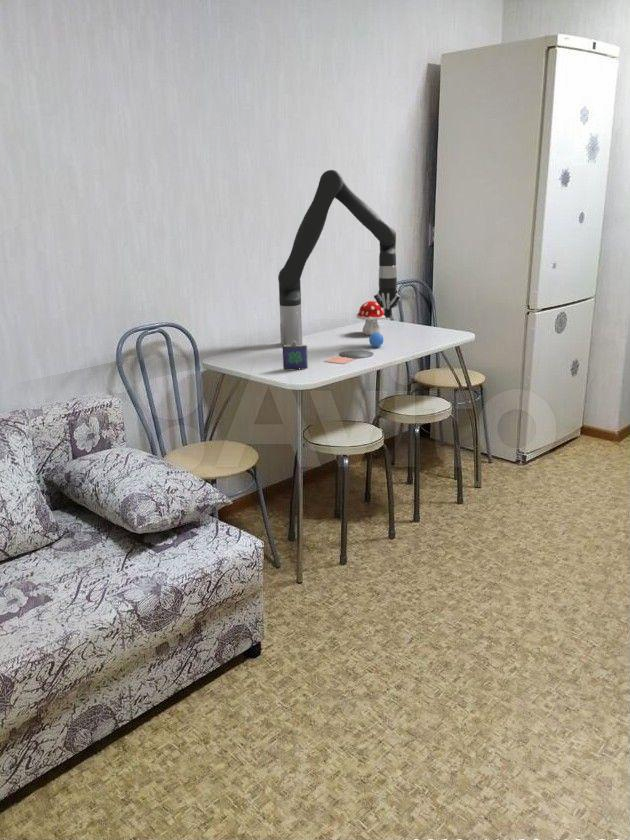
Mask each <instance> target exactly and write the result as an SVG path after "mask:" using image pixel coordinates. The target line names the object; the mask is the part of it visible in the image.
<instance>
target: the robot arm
mask: <svg viewBox="0 0 630 840" xmlns="http://www.w3.org/2000/svg"><path fill="white" fill-rule="evenodd" d="M334 200H337V201H339V202H340V204H342V205H343V206H344V207H345V208H346V209H347V210H348V211H349V212H350V213H351V215H353V216H354V217H355V218H356V220H357V221H358V222H360V223H361V225H362V226H363V227H364V228H366V229H367V231H370V232H371V234H372V235H373V236H374V237H375V238H376V239H377V240H378V242H379V256H378V265H379V267H378V293H376V294H375V295H374V296H373V298H374V300H375V302H377V303H378V304H379V306H380V307H383V310H384V316H385V317H386V319H389V318H391V317H392V315H393V314H392V312H393V308H396V307H397V306H398V304H399V302H400V301H401V300H402V298H403V296H402V295H399V294H398V289H397V286H398V284H397V281H398V280H397V279H398V278H397V277H398V276H397V274H398V273H397V272H398V271H397V255H396V249H397V247H396V245H397V243H396V242H397V233H396V231H395V229H394V228H393V227H390V225H388V224H387V223H386V222H385V221H384V220H382V218H381V217H380V215H379V214H378V213H376V211H375V210H374V209H372V207H370V206H369V205H368V204H367V203H366V202H365V201H363V200H362V199H361V198H360V197H359V196H357V194H355V192H353V191H352V189H350V187H349V186H348V185H347V184H346V182H345V181H344V179H343V177H342V175H341V174H340V173H339V172H338V171H337V170H335V169H329V170H325V171H324V172H323V173H322V174H321V176H320V178H319V181H318V186H317V188H316V190H315V193H314V197H313V199H312V201H311V204H309V207H308V209H307V211H306V212H305V214H304V216H303V218H302V221H301V223H300V225H299V227H298V229H297V232H296V235H295V237H294V240H293V244H292V247H291V251H290V254H289V256H288V258H287V260H286V262H285V263H284V266H283V267H282V268H281V269H280V271H279V273H278V277H277V278H278V293H279V294H278V299H279V300H278V301H279V302H278V303H279V322H280V324H279V329H280V330H279V333H280V346H281V345H287V344H288V345H289V344H293V341H297V342H296V344H297V345H303V325H302V324H303V322H302V318H303V317H302V293H301V292H302V291H301V288H302V287H301V277H302V274H303V271H304V268H305V265H306V262H307V261H308V259H309V258H310V256H311V254H312V253H313V251H314V249H315V247H316V245H317V242H318V241H319V240H320V237H321V235H322V233H323V229H324V227H325V224H326V221H327V217H328V213H329V210H330V207H331V205H332V203H333V201H334Z"/></svg>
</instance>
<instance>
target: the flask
mask: <svg viewBox="0 0 630 840" xmlns="http://www.w3.org/2000/svg"><path fill="white" fill-rule="evenodd" d="M296 342H297V341H293V344H289V345H288V344H287V345H284V346H282V364H283V365H282V368H283V370H284V369H295V370H303V369H302V368H307V369H308V368H309V367H308V366H309V364H308V361H309V360H308V345H307V344H301V345H297V344H296ZM299 368H300V369H299Z"/></svg>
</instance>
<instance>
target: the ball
mask: <svg viewBox="0 0 630 840" xmlns="http://www.w3.org/2000/svg"><path fill="white" fill-rule="evenodd" d="M368 341H369V344H370V345H371V346H372V347H373V348H379V347H381V346H382V345H383V344H384V341H385V340H384V336H383V335H382V333H380V332H379V333H373V334H372V335H369V339H368Z"/></svg>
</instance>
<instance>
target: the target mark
mask: <svg viewBox="0 0 630 840" xmlns="http://www.w3.org/2000/svg"><path fill="white" fill-rule="evenodd" d="M373 354H374V352H373V351H369V350H365V349H363V350H362V349H352V350H351V349H350V350H345V351H342V352H340V353H338V357H346V358H353V359H365V357H366V358H370V357H372V355H373ZM373 356H374V355H373Z"/></svg>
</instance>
